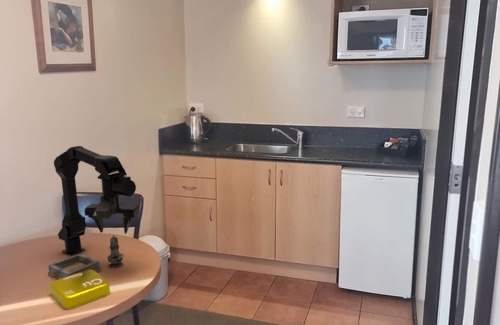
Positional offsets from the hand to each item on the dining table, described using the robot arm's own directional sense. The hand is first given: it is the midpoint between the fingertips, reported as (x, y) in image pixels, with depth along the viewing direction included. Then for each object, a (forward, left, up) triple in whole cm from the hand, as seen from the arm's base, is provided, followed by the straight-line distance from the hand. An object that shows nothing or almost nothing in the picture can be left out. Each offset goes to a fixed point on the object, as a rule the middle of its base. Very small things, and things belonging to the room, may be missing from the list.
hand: (113, 232), depth 162 cm
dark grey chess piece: (-1, +1, -14) cm, 14 cm away
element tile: (+7, -20, -14) cm, 25 cm away
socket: (-8, -12, -13) cm, 20 cm away
